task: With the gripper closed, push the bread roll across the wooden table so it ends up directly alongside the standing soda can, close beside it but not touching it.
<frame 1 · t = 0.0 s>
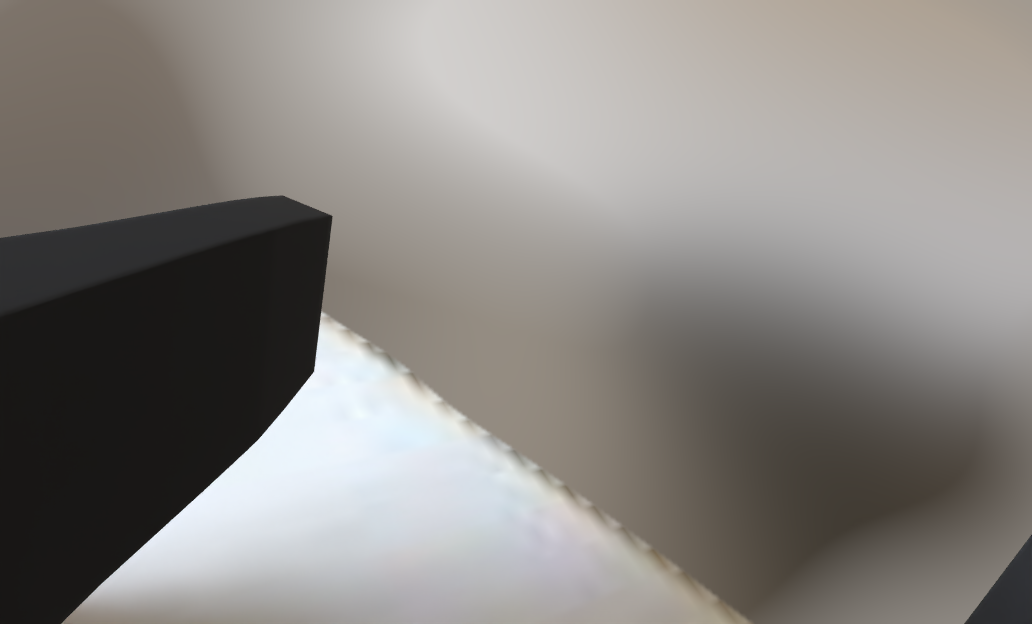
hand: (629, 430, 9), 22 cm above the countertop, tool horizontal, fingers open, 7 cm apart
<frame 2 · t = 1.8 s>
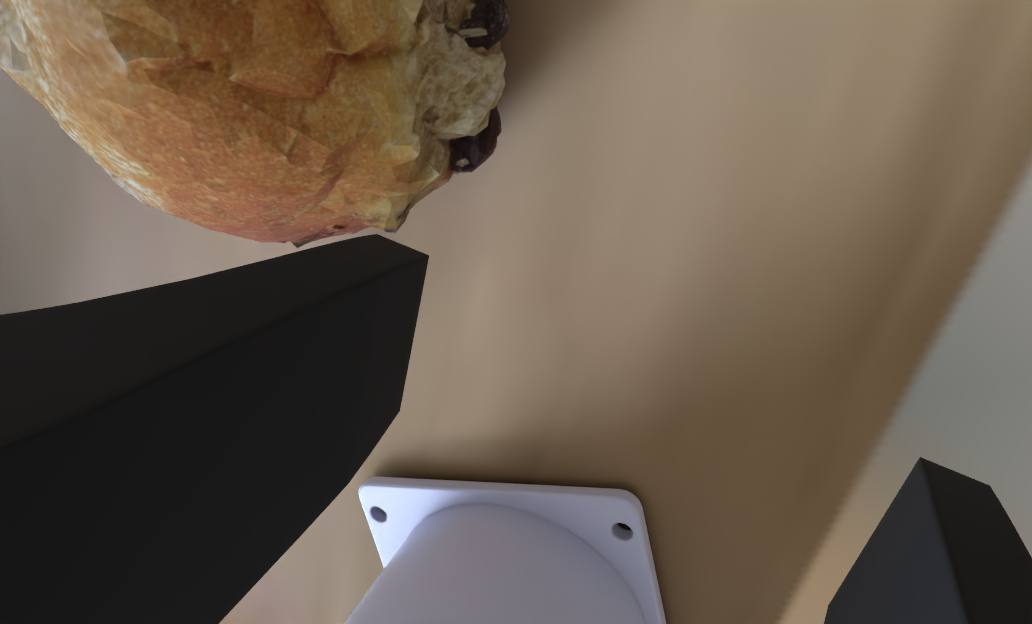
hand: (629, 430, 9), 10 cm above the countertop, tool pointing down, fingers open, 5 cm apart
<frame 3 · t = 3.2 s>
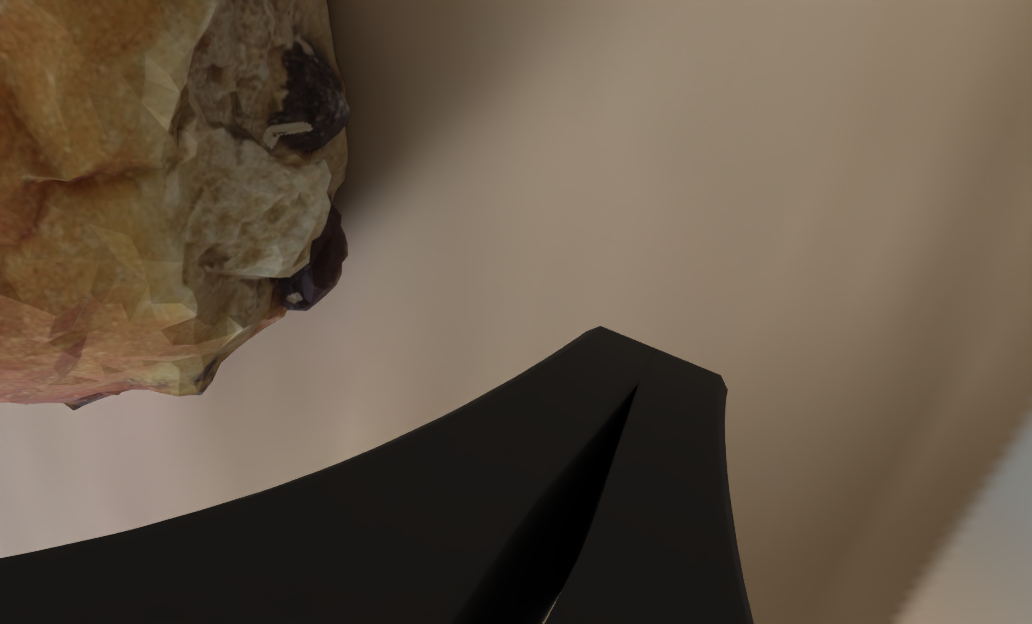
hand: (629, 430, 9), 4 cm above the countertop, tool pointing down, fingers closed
bread roll: (119, 41, 14), on the countertop
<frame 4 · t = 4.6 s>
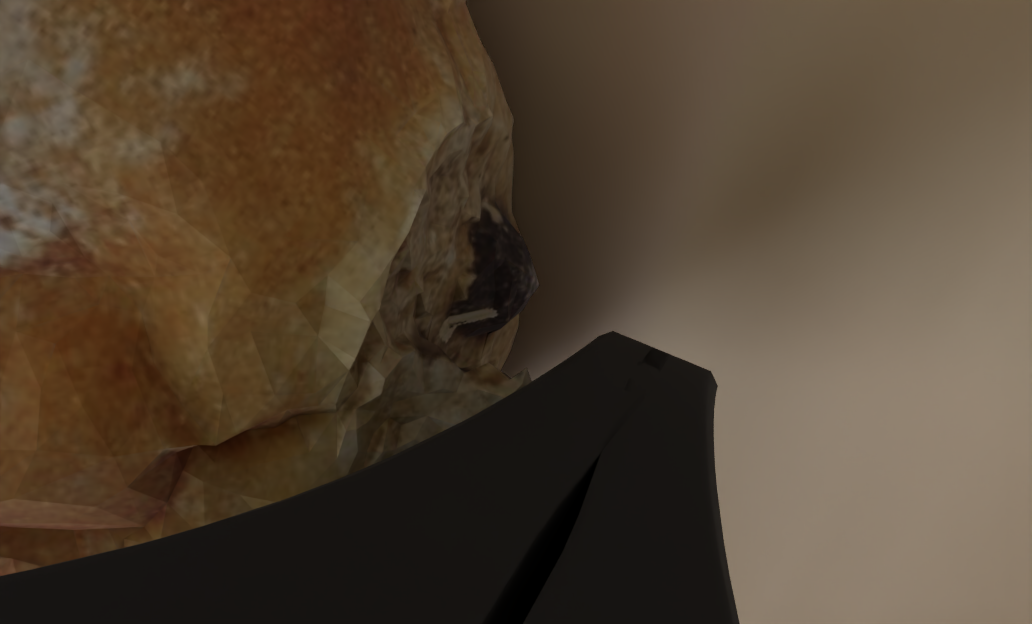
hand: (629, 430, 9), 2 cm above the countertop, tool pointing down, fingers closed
bread roll: (222, 167, 12), on the countertop, touching gripper
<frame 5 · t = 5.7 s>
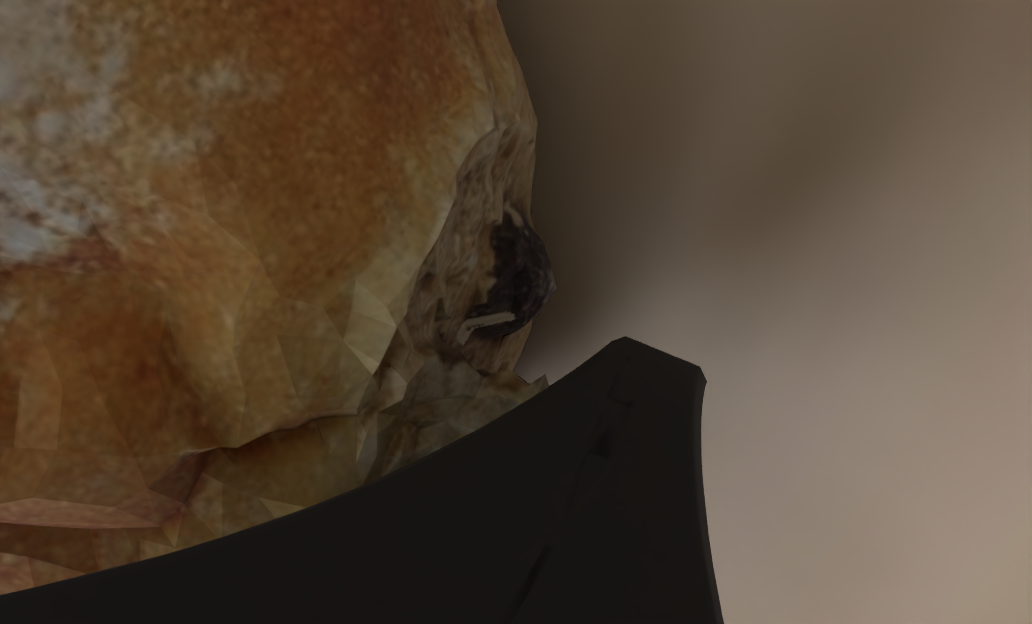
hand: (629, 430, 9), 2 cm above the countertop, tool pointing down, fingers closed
bread roll: (233, 157, 12), on the countertop, touching gripper
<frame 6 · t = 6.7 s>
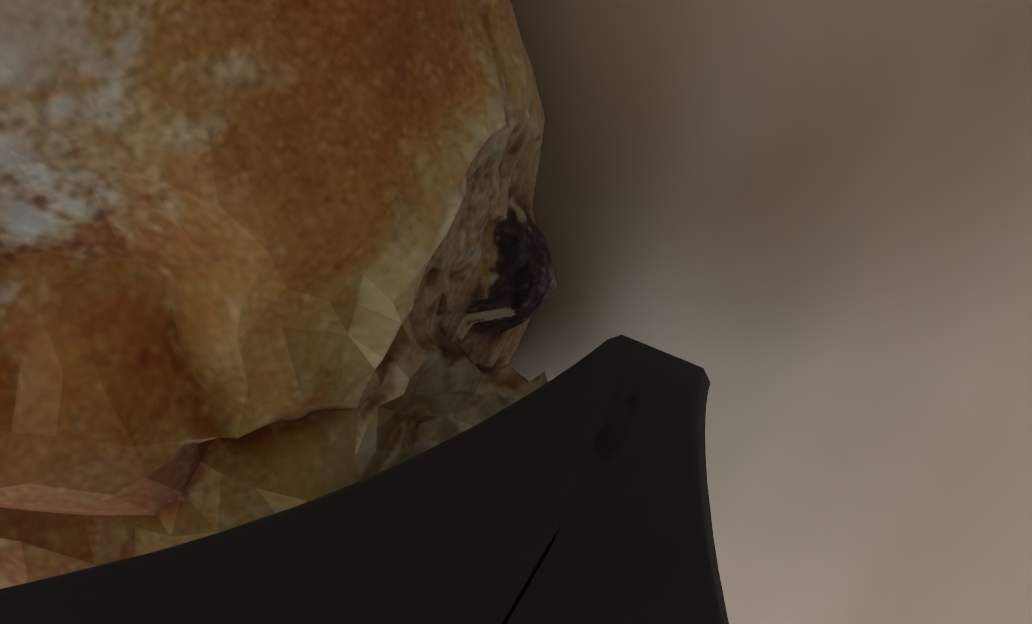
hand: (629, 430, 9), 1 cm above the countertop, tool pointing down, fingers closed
bread roll: (232, 139, 11), on the countertop, touching gripper
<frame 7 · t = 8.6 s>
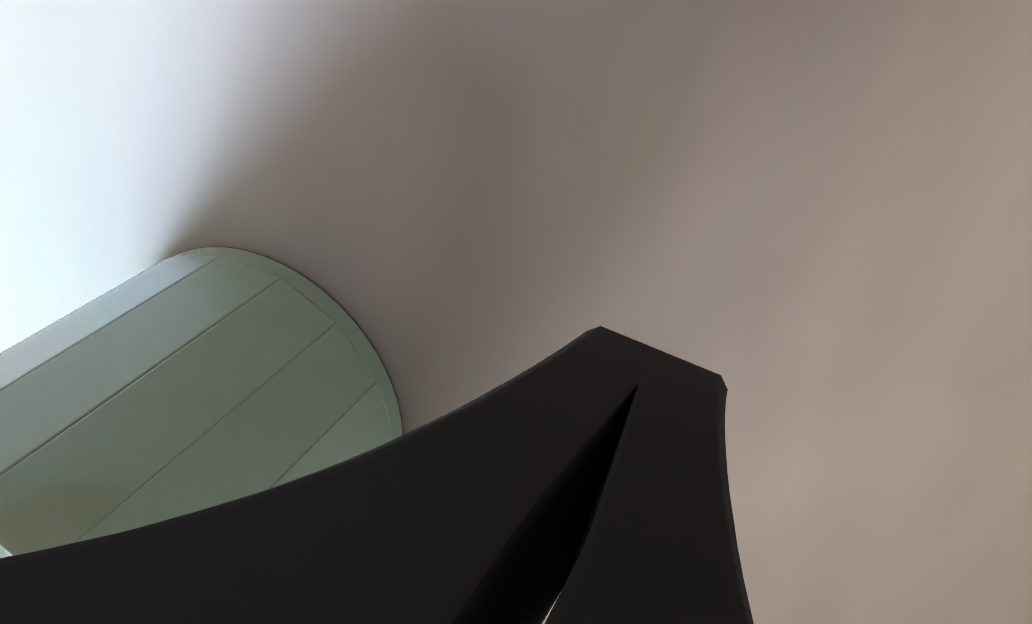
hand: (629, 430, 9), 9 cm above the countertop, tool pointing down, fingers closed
green mug: (262, 393, 25), on the countertop
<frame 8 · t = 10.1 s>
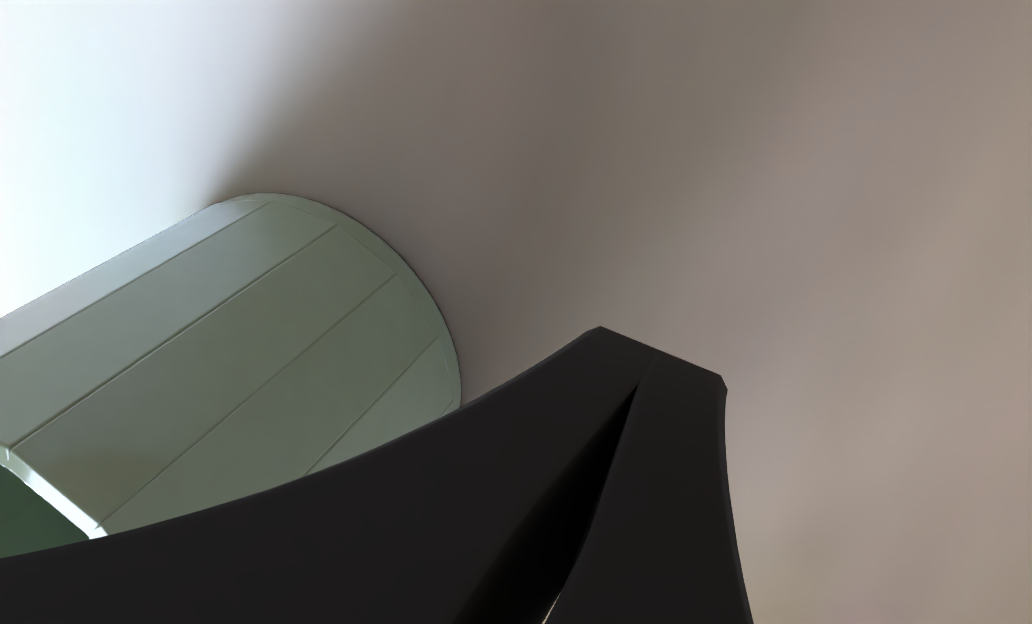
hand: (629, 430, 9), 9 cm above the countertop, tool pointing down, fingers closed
green mug: (309, 351, 23), on the countertop
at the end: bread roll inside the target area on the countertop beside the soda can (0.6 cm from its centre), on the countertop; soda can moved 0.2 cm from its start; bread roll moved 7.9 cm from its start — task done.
